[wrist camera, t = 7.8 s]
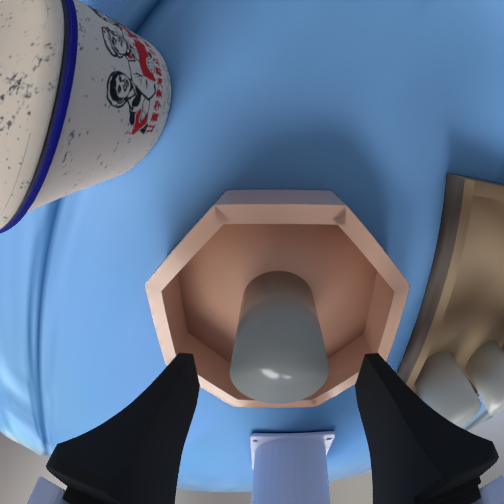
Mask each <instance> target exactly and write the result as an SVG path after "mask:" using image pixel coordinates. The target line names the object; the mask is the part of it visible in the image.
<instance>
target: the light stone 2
mask: <svg viewBox="0 0 504 504" xmlns="http://www.w3.org/2000/svg"><path fill="white" fill-rule="evenodd" d="M465 371H466V373H467V375H468V376H469V378H470V380H471V381H472V383H473V385H474V387H475V388H476V390H477V392H478V394H479V396H480V397H481V399H482V401H483V403H484V405H485V407H486V408H487V410H488V412H489V414H490V415H491V416H493V415H496V414H498V413H500V412H501V411H503V410H504V351H503V349H502V348H501V347H500V345H499V344H498V343H497V341H495V340H492V341H489V342H487V343H485V344H483V345H482V346H481V347H479V348H478V349H477V350H476V351H475V352H474V353H473V355H472V356H471V357H470V359H469V360H468V362H467V364H466V367H465Z"/></svg>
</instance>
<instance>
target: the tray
mask: <svg viewBox="0 0 504 504" xmlns="http://www.w3.org/2000/svg"><path fill="white" fill-rule="evenodd" d="M492 340H495V341H497V343H498V344H499V345H500V347H501V348H502V349H503V351H504V184H500V183H495V182H491V181H486V180H481V179H477V178H471V177H466V176H461V175H455V174H449V173H447V179H446V189H445V198H444V205H443V212H442V219H441V225H440V231H439V236H438V242H437V247H436V251H435V256H434V260H433V265H432V269H431V273H430V277H429V281H428V285H427V288H426V292H425V295H424V299H423V302H422V306H421V309H420V312H419V315H418V318H417V321H416V324H415V327H414V330H413V333H412V336H411V338H410V341H409V344H408V346H407V349H406V352H405V354H404V357H403V359H402V362H401V364H400V366H399V369H398V371H397V373H396V374H397V375H398V376H399V377H400V378H401V379H402V380H403V381H404V382H405V383H406V385H407V386H408V387H409V388H410V389H411V390H412V391H413V392H414V393H415V394H416V395H417V396H419V395H418V393H417V390H416V388H415V386H414V383H415V381H416V379H417V377H418V375H419V373H420V371H421V369H422V367H423V365H424V363H425V361H426V359H428V358H429V357H431V356H432V355H434V354H436V353H439V352H443V351H448V352H451V353H452V354H453V355H454V357H455V359H456V360H457V362H458V364H459V365H460V367H461V369H462V370H463V372H464V374H465V375H466V377H467V379H468V380H469V382H470V384H471V386H472V387H473V389H474V391H475V393H476V395H477V396H479V394H478V392H477V390H476V388H475V387H474V385H473V383H472V381H471V380H470V378H469V376H468V375H467V373H466V371H465V367H466V364H467V362H468V360H469V359H470V357H471V356H472V355H473V353H474V352H475V351H476V350H477V349H478V348H479V347H481V346H482V345H483V344H485V343H487V342H489V341H492Z"/></svg>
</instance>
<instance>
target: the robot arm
mask: <svg viewBox="0 0 504 504" xmlns="http://www.w3.org/2000/svg"><path fill="white" fill-rule="evenodd" d="M199 387H200V383H199V379H198V374H197V370H196V365H195V361H194V356H193V354H189V353H178V354H177V355H176V357H175V358H174V359H173V360H172V361H171V362H170V364H169V365H168V366H167V367H166V368H165V369H164V371H163V372H162V373H161V374H160V375H159V376H158V377H157V378H156V379H155V380H154V381H153V382H152V384H151V385H150V386H149V387H148V388H147V389H146V390H145V391H144V392H142V393H141V394H140V395H139V396H138V397H137V398H136V399H135V400H134V401H133V402H132V403H130V404H129V405H128V406H127V407H126V408H124V409H123V410H122V411H120V412H119V413H118V414H116V415H115V416H113V417H112V418H110V419H109V420H108V421H106V422H104V423H103V424H101V425H100V426H98V427H96V428H94V429H92V430H90V431H88V432H86V433H84V434H82V435H80V436H78V437H75V438H73V439H70V440H68V441H65V442H62V443H59V444H57V446H56V447H55V449H54V451H53V453H52V455H51V457H50V459H49V461H48V463H47V465H46V467H47V470H49V472H50V473H51V474H53V475H54V476H55V477H56V478H58V479H59V480H60V481H61V482H63V483H64V484H65V485H67V486H68V487H67V489H66V491H65V490H64V489H62V488H61V487H59V486H57V485H55V484H53V483H52V482H50V481H48V480H47V479H45V478H43V477H39V479H38V481H37V483H36V485H35V487H34V489H33V492H32V494H31V496H30V498H29V501H28V503H27V504H175V494H176V486H177V479H178V473H179V466H180V461H181V455H182V451H183V447H184V443H185V440H186V437H187V434H188V431H189V427H190V424H191V421H192V418H193V415H194V411H195V408H196V405H197V399H198V393H199ZM355 389H356V396H357V403H358V408H359V412H360V415H361V419H362V423H363V427H364V430H365V434H366V438H367V442H368V446H369V451H370V458H371V468H372V480H373V481H372V482H373V504H504V478H503V476H500V477H499V478H497V479H495V480H494V481H492V482H490V483H489V484H487V485H485V486H484V487H482V488H480V489H479V488H478V484H480V483H481V480H480V477H479V476H480V475H482V474H483V473H484V472H485V471H487V470H488V469H489V468H490V467H491V466H493V464H495V462H496V461H497V460H498V457H499V456H498V453H497V451H496V449H495V446H494V444H493V442H492V441H489V440H487V439H484V438H482V437H479V436H476V435H474V434H472V433H470V432H468V431H466V430H464V429H462V428H460V427H459V426H457V425H455V424H454V423H452V422H451V421H449V420H447V419H446V418H444V417H443V416H442V415H440V414H439V413H437V412H436V411H435V410H434V409H432V408H431V407H430V406H429V405H427V404H426V403H425V402H424V401H423V400H422V399H421V398H420V397H419V396H417V395H416V394H415V393H414V392H413V391H412V390H411V389H410V388H409V387H408V386H407V385H406V383H405V382H404V381H403V380H402V379H401V378H400V377H399V376H398V375H397V374H396V373H395V371H394V370H393V369H392V368H391V367H390V366H389V365H388V364H387V362H386V361H385V360H384V359H383V358H382V357H381V356H380V355H379V353H370V354H365V355H364V359H363V362H362V365H361V368H360V371H359V375H358V378H357V381H356V384H355ZM334 437H335V432H334V431H325V432H310V433H252V434H251V435H250V446H251V461H252V469H253V470H254V471H253V483H252V497H251V504H330V494H329V482H328V471H327V460H326V455H327V453H328V451H329V448H330V446H331V444H332V442H333V439H334Z"/></svg>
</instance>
